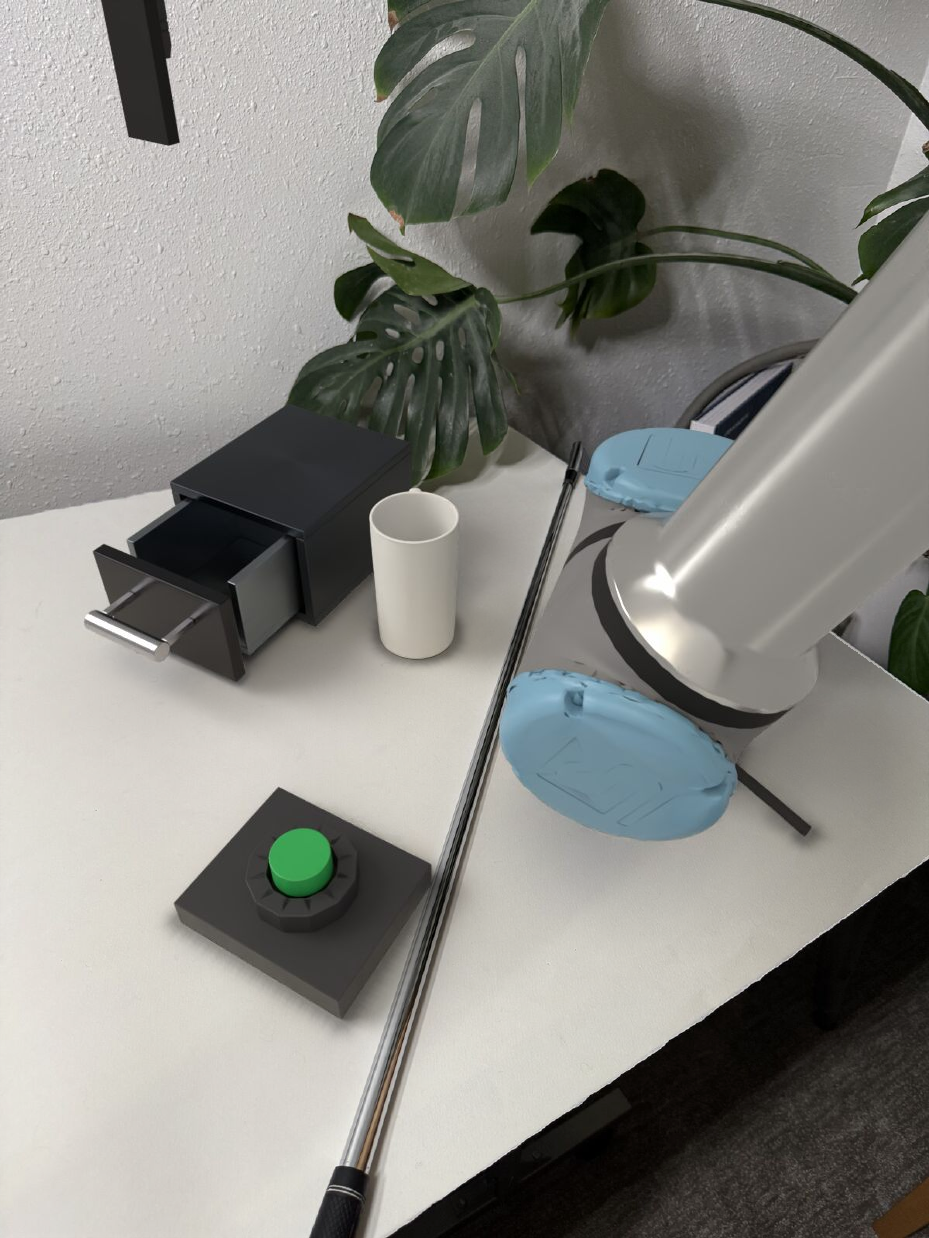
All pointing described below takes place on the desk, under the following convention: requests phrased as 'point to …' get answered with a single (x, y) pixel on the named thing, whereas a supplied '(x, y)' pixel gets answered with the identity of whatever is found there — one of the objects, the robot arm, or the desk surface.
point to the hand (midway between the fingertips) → (42, 173)
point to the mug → (415, 571)
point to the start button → (301, 862)
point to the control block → (307, 903)
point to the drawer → (199, 587)
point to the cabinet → (307, 493)
